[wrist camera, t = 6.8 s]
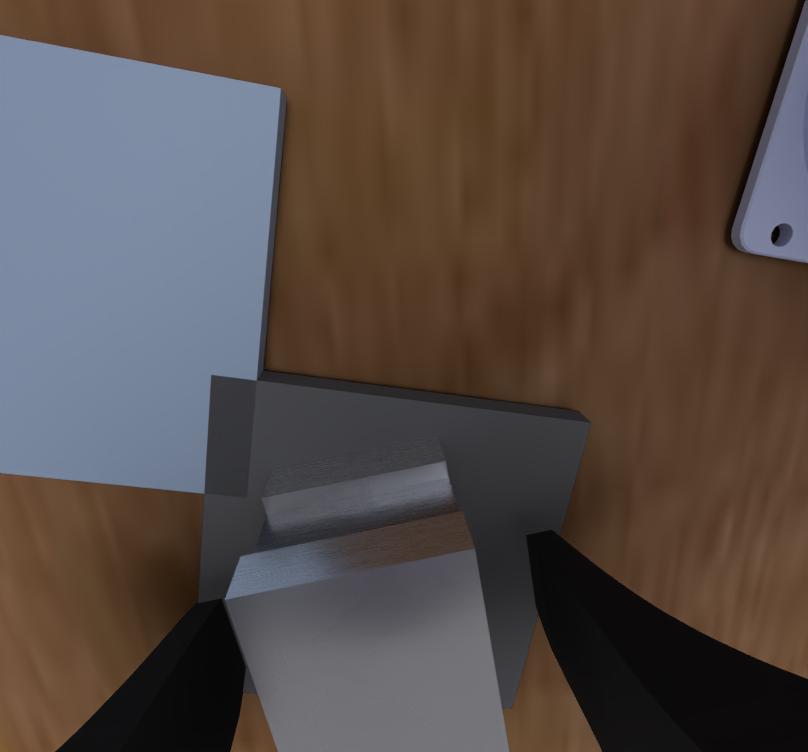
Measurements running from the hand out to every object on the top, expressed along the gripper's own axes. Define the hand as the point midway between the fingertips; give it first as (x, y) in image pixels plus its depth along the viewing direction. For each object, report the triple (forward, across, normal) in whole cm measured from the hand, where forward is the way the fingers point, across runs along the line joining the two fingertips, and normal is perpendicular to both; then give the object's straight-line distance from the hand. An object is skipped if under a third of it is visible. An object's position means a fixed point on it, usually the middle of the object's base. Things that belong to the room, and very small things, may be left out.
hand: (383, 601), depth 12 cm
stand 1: (+2, +6, -8) cm, 10 cm away
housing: (+1, 0, 0) cm, 1 cm away
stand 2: (+2, 0, 0) cm, 2 cm away
